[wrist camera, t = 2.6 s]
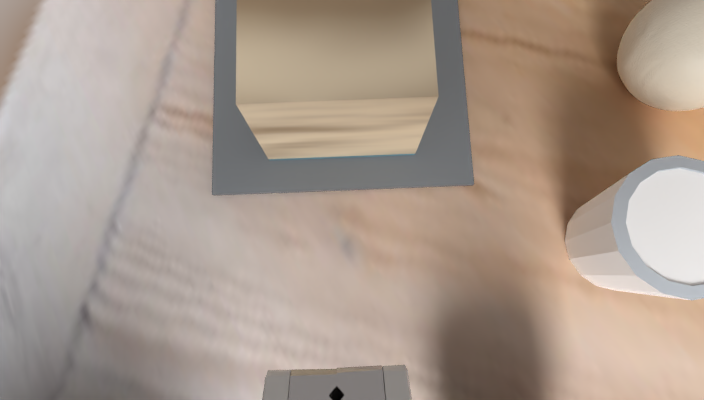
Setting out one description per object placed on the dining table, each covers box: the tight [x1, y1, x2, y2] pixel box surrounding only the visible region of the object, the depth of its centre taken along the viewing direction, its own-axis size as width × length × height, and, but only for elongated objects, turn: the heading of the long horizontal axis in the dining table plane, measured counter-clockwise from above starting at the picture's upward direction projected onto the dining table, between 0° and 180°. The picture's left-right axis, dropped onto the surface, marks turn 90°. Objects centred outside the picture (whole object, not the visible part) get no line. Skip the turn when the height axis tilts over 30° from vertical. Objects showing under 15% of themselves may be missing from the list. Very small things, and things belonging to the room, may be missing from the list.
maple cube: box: [236, 0, 439, 161], centre depth 28 cm, size 9×9×9 cm
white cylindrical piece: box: [565, 155, 704, 300], centre depth 27 cm, size 7×7×7 cm
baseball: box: [617, 0, 704, 111], centre depth 29 cm, size 7×7×7 cm
